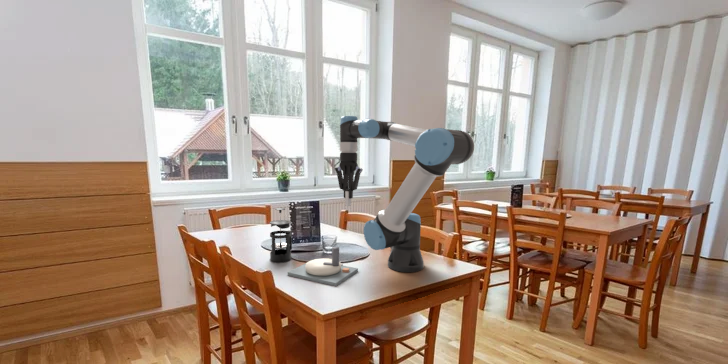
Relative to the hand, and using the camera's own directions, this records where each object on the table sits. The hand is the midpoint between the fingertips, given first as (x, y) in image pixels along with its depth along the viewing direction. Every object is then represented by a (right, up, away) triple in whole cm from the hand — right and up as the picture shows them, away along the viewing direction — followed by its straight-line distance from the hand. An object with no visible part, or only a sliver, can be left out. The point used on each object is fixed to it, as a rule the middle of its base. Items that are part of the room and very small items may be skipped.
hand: (348, 205), depth 146 cm
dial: (-9, -24, -15) cm, 30 cm away
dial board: (-9, -26, -15) cm, 31 cm away
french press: (-30, -24, +1) cm, 38 cm away
